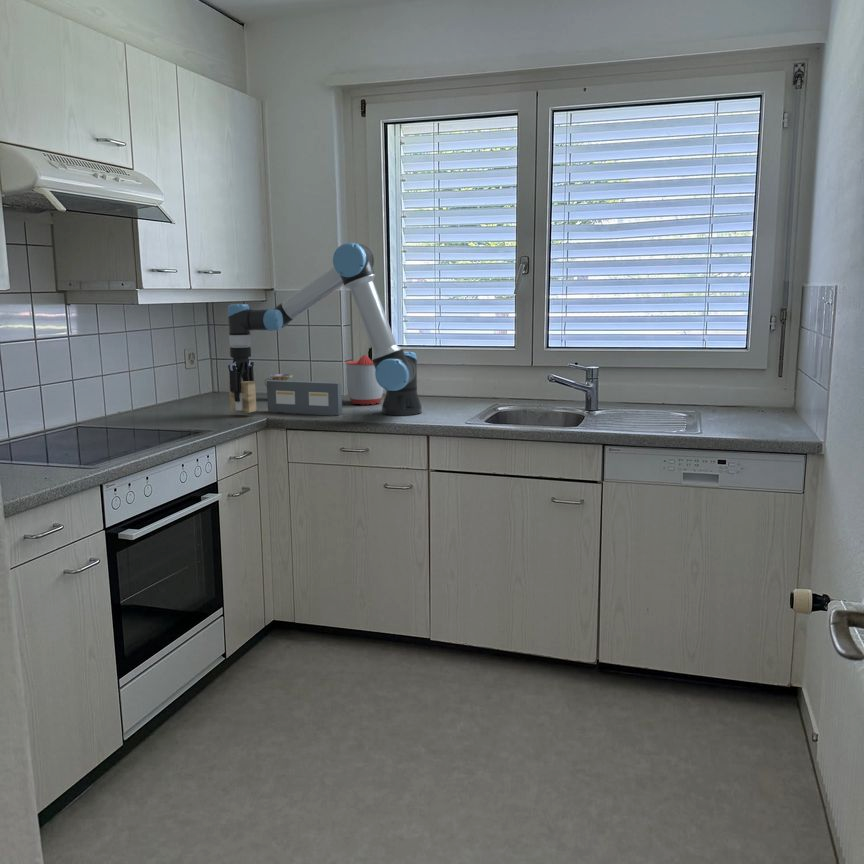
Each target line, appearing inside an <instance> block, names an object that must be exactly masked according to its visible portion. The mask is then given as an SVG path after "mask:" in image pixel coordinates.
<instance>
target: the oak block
mask: <svg viewBox="0 0 864 864" xmlns="http://www.w3.org/2000/svg"><path fill="white" fill-rule="evenodd" d="M228 390H229V391H228V392H229V405H230V406H229V408H230V409H229V411H230V413H231V412H233V413H246V414H247V413H248V414H249V413H253V412H256V411H257V394H256V392H257V391H256V381H255V380H254V381H243V380H242V381H241V392H240V393H242V402H243V410H242V411H240V410H235V396H234V393H232V392H231V391H230V381H229V382H228Z"/></svg>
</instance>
